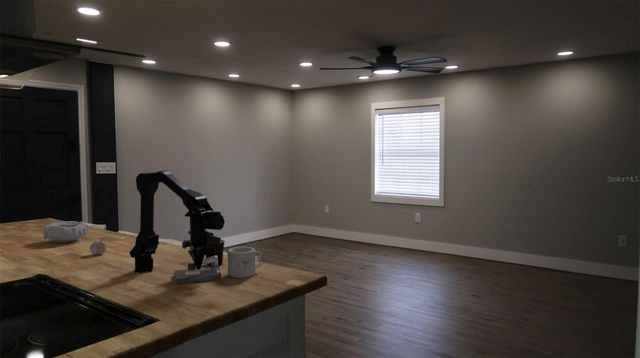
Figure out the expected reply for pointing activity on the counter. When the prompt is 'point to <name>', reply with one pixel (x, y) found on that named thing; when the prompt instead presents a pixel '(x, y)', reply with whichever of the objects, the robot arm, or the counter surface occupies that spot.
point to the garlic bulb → (98, 247)
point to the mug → (242, 262)
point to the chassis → (197, 275)
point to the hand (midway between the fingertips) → (198, 269)
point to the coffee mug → (217, 252)
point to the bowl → (65, 231)
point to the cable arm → (205, 262)
